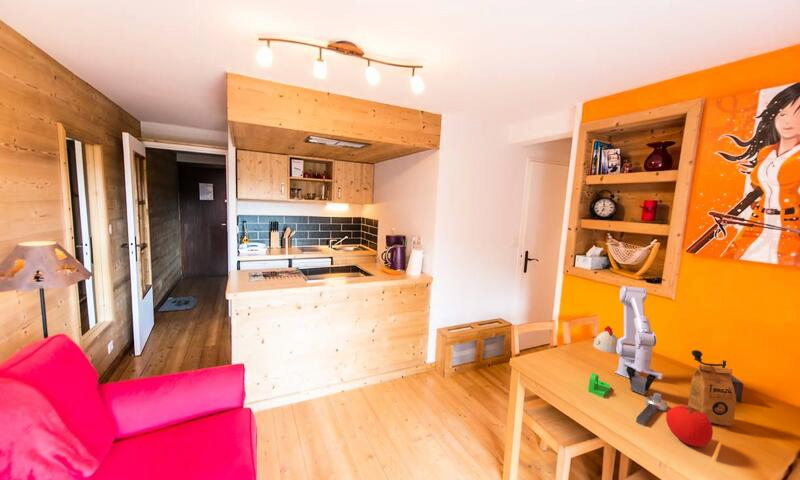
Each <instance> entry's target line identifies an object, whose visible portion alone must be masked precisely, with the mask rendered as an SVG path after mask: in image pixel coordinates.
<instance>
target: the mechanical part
mask: <svg viewBox="0 0 800 480" xmlns="http://www.w3.org/2000/svg"><path fill="white" fill-rule="evenodd" d="M588 381H589V382H588V393H591V394H593V395H595V396H597V397H600V398H605V397H606V395H608V393H610V391H611V385H610V384H609V383H608V382H605V381H603V380H601V379H599V375H598V374H596V373H594V372H592V373H591V374H590V377H589V380H588Z"/></svg>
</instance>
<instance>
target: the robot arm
mask: <svg viewBox="0 0 800 480" xmlns="http://www.w3.org/2000/svg"><path fill="white" fill-rule="evenodd" d="M647 297H648V290H647V289H646V288H645V287H636V286H626V285H622V286H621V287H620V290H619V302H620V303H622V304H623V336H622V337H619V338H617V339H618V341H617V346H616V351H617V354H616V355H618V356H619V359H618V369H617V370H616V371H614V374H616V375H619V376H623V377H625V378H628V379H629V383H630V385H631V380H632V377H633V376H634V375H635V374H637V375H640V373H643V374H646V375H647V376H646V378H647V385H646V391H648V392H649V390H650V388H651V386H652V383H653V382H654V381H655V380H656V378H657V379H658V380H662V379H663V373H660V372H658V371H656V370H654V369H652V368H651V365H652V364H651V363H652V357H653V350H654V349H653V348H654V347H655V346H656V345H657V336H656V334H655V332H654V331H653V330H652V327H651V323H650V319H649V318H648V317H646V313H645V311H646V310H645V305H644V303H645V302H646V299H647Z"/></svg>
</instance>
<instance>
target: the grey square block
mask: <svg viewBox="0 0 800 480" xmlns="http://www.w3.org/2000/svg"><path fill="white" fill-rule="evenodd" d="M646 385H647V376H646V377H645V376H643V375H641V374H639V375H637V374H635V375H634V376H633V377H632V380H631V384H630V391H633V392H635V393H638V394H640V395H643V396H645V395H646V394H648V392H649V390H648V391H646Z"/></svg>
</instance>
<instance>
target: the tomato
mask: <svg viewBox="0 0 800 480" xmlns="http://www.w3.org/2000/svg"><path fill="white" fill-rule="evenodd" d="M666 412H667V413H666V415H665V418H666V419H665V421H666V423H667V426H668V428H669V430H670V432H671V433H672V434H673V435H674V436H675V437H676V438H677V439H678V440H680V441H682V442H683V443H684V444H687V445H690V446H692V447H697V448H699V447H704V446H707V445H708V444H709V443H710V442H711V441H712V439H713V434H714V430H713V426H712V423H710V421H709V419H708V417H707V416H706V415H705V414H704V413H703V412H701V411H699V410H697V409H695V408H693V407H690V406H689V405H688V404H687V405H685V404H684V405H676V406H674V407H671V408H670V409H669V410H667V411H666Z"/></svg>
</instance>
